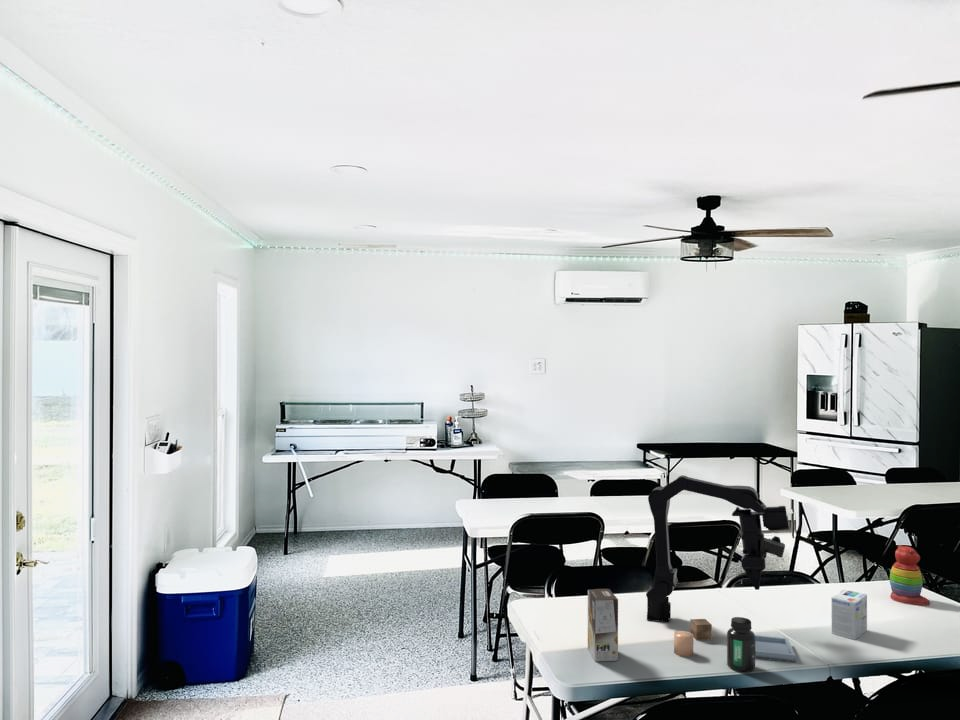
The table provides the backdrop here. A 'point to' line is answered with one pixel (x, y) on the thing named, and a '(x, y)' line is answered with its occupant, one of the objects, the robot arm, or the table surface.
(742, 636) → the supplement bottle
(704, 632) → the walnut block
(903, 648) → the table surface
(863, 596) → the light bulb box
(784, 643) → the tray
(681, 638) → the cylinder block
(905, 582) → the stacking bear
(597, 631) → the coffee box
